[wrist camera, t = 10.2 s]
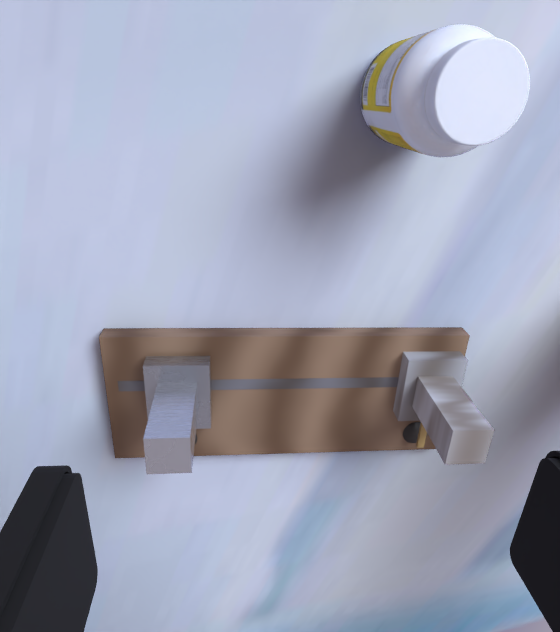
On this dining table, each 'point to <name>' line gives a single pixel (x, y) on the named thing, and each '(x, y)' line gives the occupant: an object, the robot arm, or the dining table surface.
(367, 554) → the dining table surface
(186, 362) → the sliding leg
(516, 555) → the robot arm
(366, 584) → the dining table surface
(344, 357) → the wooden board with posts
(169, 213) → the dining table surface
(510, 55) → the pill bottle
